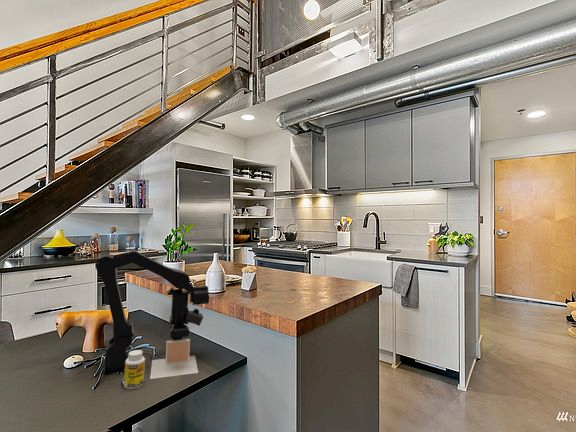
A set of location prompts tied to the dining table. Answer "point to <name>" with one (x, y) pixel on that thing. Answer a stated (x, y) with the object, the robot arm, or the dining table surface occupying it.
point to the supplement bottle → (134, 369)
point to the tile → (177, 351)
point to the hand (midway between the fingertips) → (177, 348)
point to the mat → (173, 368)
